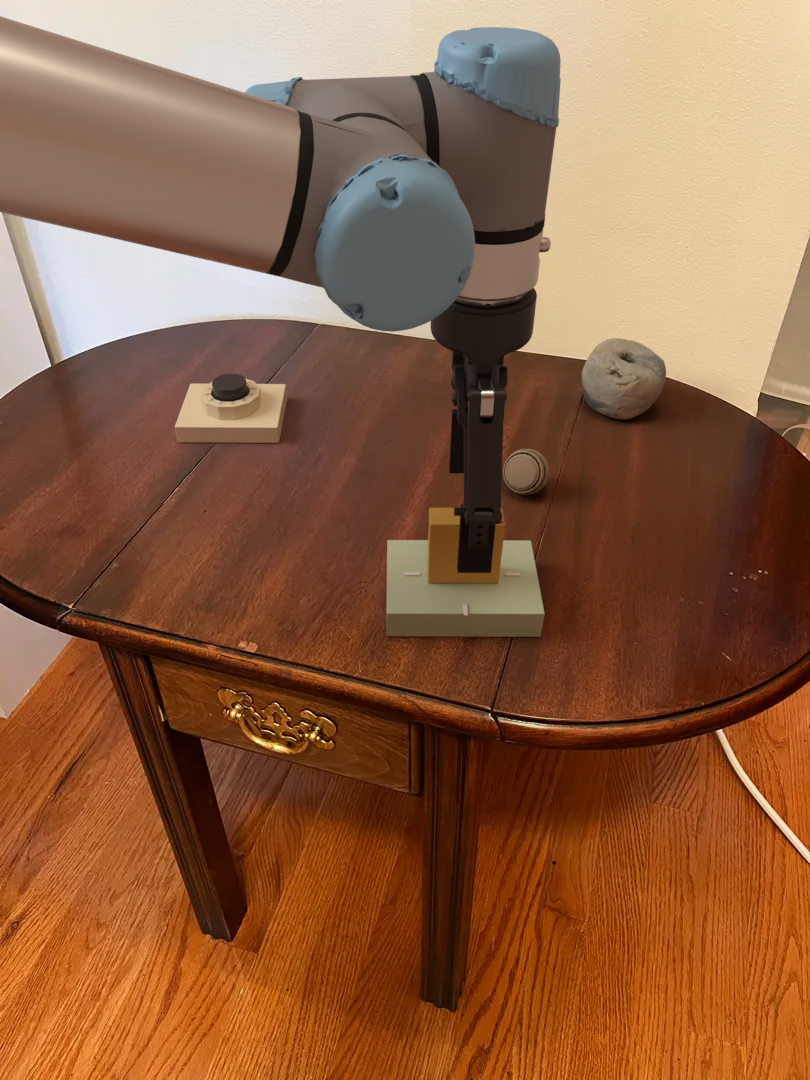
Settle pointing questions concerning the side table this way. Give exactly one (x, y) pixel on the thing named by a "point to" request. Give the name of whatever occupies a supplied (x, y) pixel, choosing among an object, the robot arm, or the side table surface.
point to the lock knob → (456, 550)
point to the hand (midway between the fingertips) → (468, 517)
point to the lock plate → (462, 596)
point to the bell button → (229, 387)
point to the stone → (622, 378)
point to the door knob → (526, 471)
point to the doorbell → (232, 415)
